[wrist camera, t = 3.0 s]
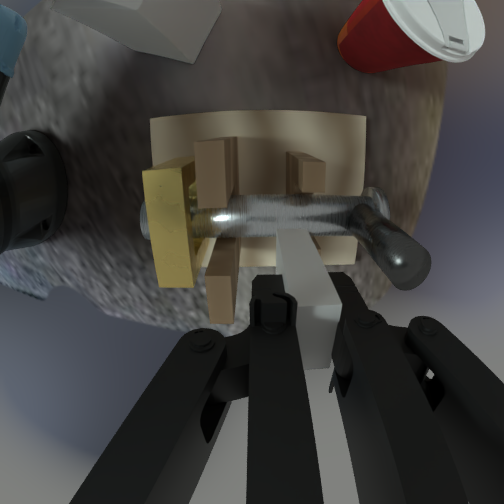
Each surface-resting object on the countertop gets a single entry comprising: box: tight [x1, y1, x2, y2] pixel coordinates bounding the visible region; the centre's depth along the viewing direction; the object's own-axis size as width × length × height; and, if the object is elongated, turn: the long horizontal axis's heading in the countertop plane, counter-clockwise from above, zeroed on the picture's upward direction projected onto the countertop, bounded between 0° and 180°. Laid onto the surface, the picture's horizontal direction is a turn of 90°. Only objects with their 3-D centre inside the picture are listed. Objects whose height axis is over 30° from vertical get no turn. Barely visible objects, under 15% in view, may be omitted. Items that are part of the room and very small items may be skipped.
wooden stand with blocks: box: [150, 110, 366, 324], centre depth 22 cm, size 21×16×14 cm
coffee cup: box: [337, 0, 485, 73], centre depth 15 cm, size 8×8×15 cm
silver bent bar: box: [140, 187, 431, 290], centre depth 17 cm, size 17×4×11 cm, turn 91°
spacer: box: [142, 156, 210, 288], centre depth 21 cm, size 2×8×8 cm, turn 1°
